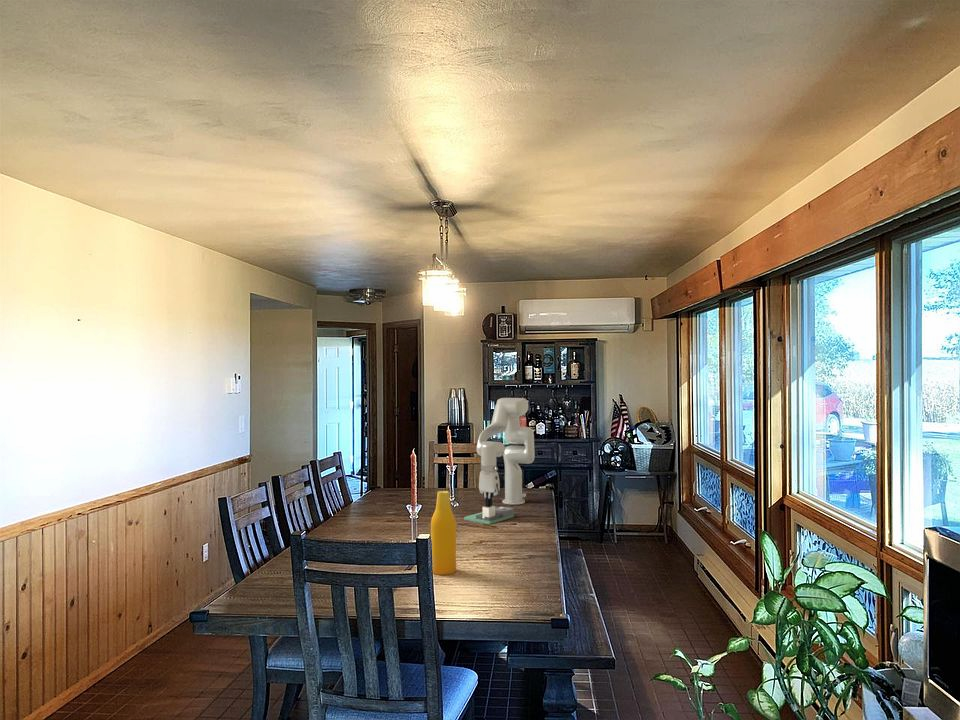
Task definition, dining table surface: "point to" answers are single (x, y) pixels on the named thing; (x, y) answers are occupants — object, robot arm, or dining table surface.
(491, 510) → the plug
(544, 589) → the dining table surface
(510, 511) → the fan
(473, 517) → the board
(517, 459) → the robot arm
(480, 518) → the header
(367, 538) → the dining table surface
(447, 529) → the beer bottle
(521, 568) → the dining table surface
